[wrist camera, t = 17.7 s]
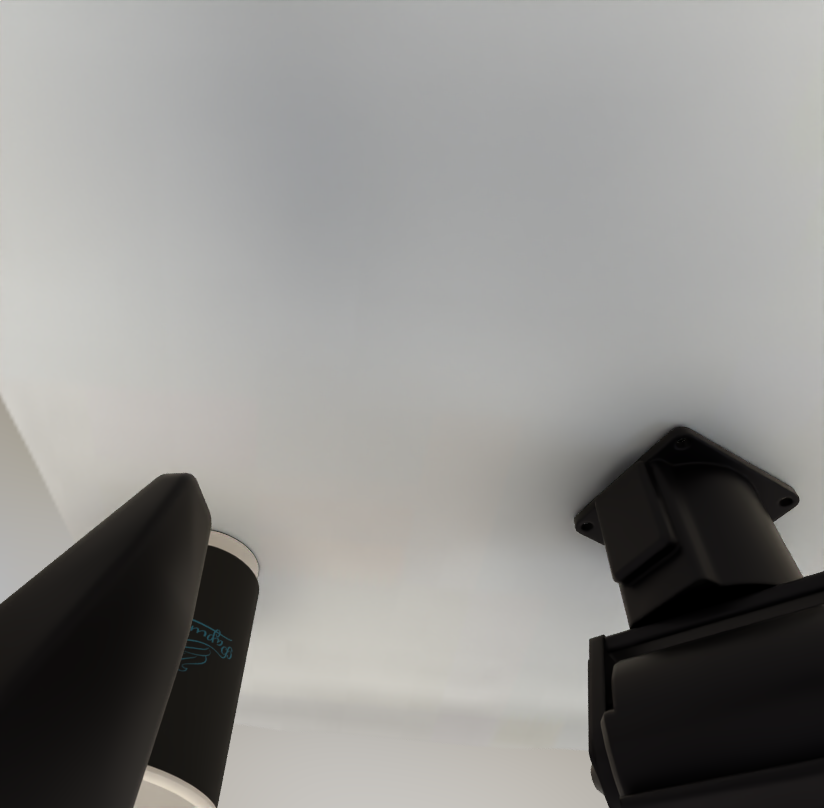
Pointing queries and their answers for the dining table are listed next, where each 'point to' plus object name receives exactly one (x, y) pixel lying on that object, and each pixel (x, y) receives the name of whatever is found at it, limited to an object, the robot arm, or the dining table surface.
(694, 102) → the dining table surface
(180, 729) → the dixie cup
